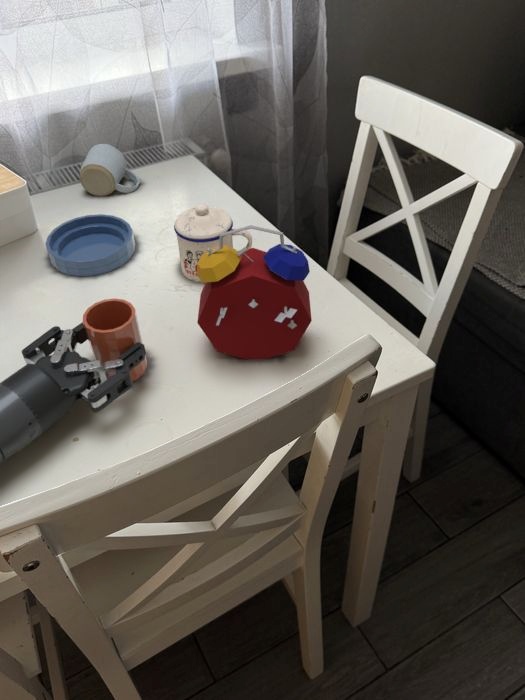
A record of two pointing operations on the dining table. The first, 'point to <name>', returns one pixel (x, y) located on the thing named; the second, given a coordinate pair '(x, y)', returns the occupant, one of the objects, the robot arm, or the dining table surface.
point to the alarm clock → (254, 298)
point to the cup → (113, 331)
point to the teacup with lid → (202, 235)
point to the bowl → (90, 245)
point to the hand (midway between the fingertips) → (120, 334)
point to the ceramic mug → (105, 171)
